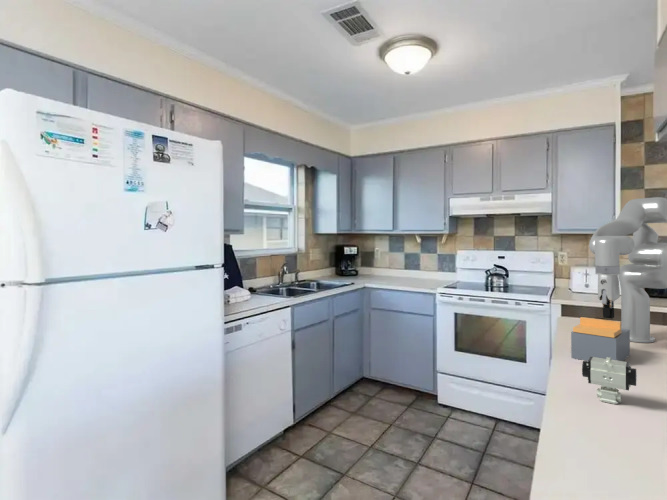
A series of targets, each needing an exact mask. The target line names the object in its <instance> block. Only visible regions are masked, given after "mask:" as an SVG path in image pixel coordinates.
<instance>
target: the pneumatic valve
mask: <svg viewBox="0 0 667 500" xmlns="http://www.w3.org/2000/svg"><path fill="white" fill-rule="evenodd" d="M581 366H582V367H581V373H582V374H581V375H582V377H583V378H586V380H587V382H588V384H592V385H597V386H600V388H598V387H597V389H596V397H597V398H599V401H601V402H602V403H608V404H610V405H611V404H613V405H618V404H619V403H621V402H622V393H621V392H620V390H624V391H629V390H630V388H631V387H632V386H634V387H636V386H637V381H638V380H637V378H638V377H637V376H638V375H637V373H638V372H637V368H633V367H632V366H631V363H630V361H625V360H624V361H617V360H611V358H610V357H609V358H608V357H607V359H603V358H597V357H590V358H589V360H588V361H585V360H582V365H581Z"/></svg>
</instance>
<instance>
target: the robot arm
mask: <svg viewBox="0 0 667 500" xmlns="http://www.w3.org/2000/svg"><path fill="white" fill-rule="evenodd" d="M663 223H665V224H666V223H667V198H666V197H662V196H661V197H660V196H659V197H657V196H656V197H643V198H634V199H630V200H628V202H626V203H625V205H624V206H623V208H622V209H621V211H620V213H619V214H618V216H617V218H615V219H613V220H611V221H609V222H607V223H604V224H603V225H601V226H600V227H598V228H597V229H596V230H595V231H594V232H593V234H592V236H591V238H590V240H589V243H588V244H589V245H588V246H589V248H588V249H589V250H590V252H591V253H592V254H594V261H595V262H594V265H595V266H594V267H595V274H596V275H597V299H598V300H599V301H601V305H602V318H604V319H610V320H611V319H612V320H613V319H615V301H617V300H619V298H620V303H621V304H620V312H621V314H620V315H621V316H620V318H621V321H620V322H621V329H629V330H630V342H633V343H641V344H642V343H645V344H646V343H648V344H649V343H654V342H656V338H655V337H654V336H652V335H651V298H650V295H649V294H648V293H647V292H646V290H645V289H646V288H647V289H658V290H659V289H661V290H662V289H664V290H665V289H667V242H658V240H659V234H658V232H657V231H656V230H655V229H654V228H653V227H651V226H650V225H649V224H663ZM629 235H632V237H630V236H629ZM626 255H627V258H628V262H630V263H629V264H623V265H622V266H620V256H626Z"/></svg>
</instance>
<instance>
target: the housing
mask: <svg viewBox="0 0 667 500" xmlns="http://www.w3.org/2000/svg"><path fill="white" fill-rule="evenodd" d="M570 336H571V337H570V340H571V341H570V343H571V345H570V348H571V352H570V353H571V359H575V360H581V361H588V360H589V358H590V357H597V358H603V359H607V357H608V358H609V357H610V358H611V360H617V361H624V362H625V360H626V359H627V358H628V357H630V356H631V352H630V351H631V344H630V343H631V341H630V330H629V329H621V334H619V335H618V336H616V337H615V338H612V337H605V336H598V335H592V334H585V333H578V332H573V331H571V333H570Z"/></svg>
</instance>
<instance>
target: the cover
mask: <svg viewBox="0 0 667 500" xmlns="http://www.w3.org/2000/svg"><path fill="white" fill-rule="evenodd" d="M572 329H573V332H578V333H585V334H592V335H598V336H605V337H612V338H615V337H616V336H618V335H619V334H621V321H620V320H619V321H618V320H611V319H602V318H593V317H583V316H580V318H579V324H577V325H575V326H573V327H572Z"/></svg>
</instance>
